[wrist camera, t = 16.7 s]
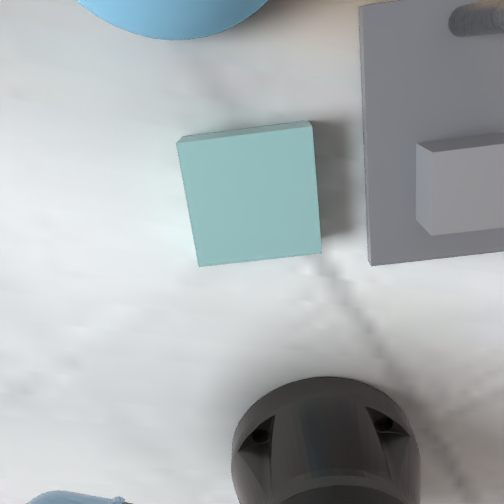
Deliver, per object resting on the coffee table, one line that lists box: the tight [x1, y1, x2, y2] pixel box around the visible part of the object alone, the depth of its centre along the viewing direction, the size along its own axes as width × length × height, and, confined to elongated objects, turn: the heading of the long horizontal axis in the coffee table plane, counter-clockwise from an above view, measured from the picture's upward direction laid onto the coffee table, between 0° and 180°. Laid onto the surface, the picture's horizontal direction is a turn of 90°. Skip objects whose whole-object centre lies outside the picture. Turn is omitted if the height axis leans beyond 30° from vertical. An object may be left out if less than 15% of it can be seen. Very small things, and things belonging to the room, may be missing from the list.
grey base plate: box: [359, 0, 504, 266], centre depth 28 cm, size 16×11×4 cm
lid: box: [176, 121, 322, 267], centre depth 31 cm, size 8×8×3 cm
